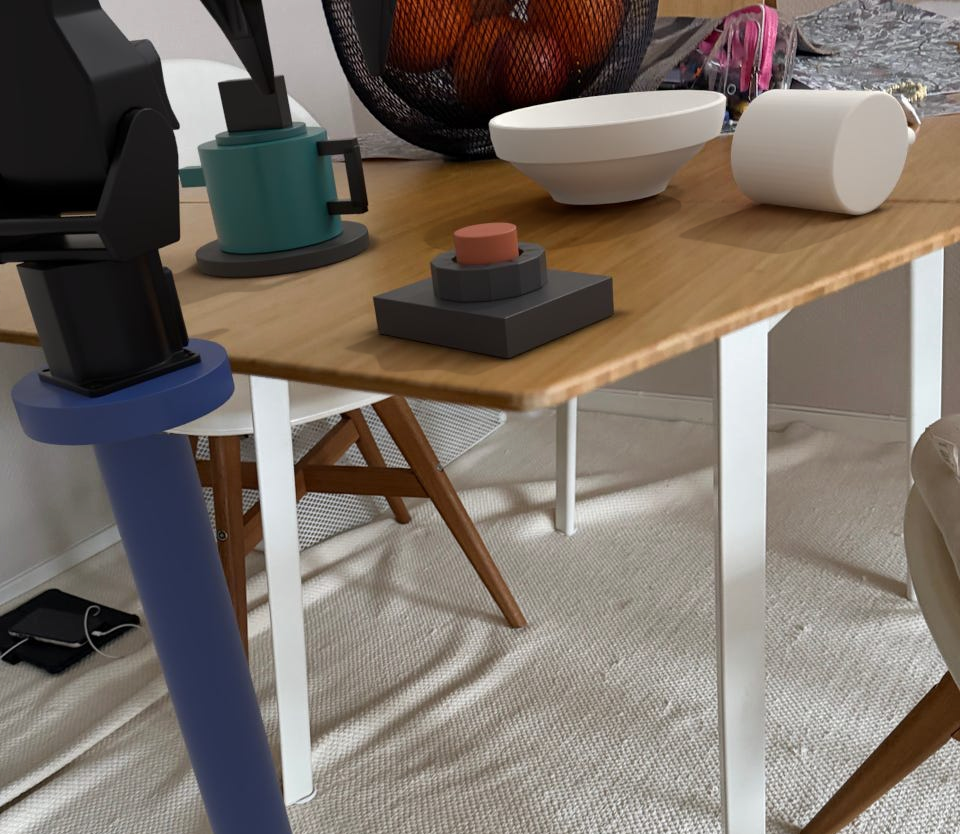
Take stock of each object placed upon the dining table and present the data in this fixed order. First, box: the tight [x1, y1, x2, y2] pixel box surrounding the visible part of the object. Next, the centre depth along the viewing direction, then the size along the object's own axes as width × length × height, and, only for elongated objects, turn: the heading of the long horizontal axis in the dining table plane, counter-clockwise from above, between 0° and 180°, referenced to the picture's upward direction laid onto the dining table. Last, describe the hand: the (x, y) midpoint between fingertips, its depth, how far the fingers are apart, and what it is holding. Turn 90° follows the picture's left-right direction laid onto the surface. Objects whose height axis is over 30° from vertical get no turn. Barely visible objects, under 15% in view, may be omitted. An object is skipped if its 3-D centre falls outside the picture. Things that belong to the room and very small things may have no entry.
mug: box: [730, 88, 916, 216], centre depth 81 cm, size 12×10×8 cm
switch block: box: [372, 241, 615, 360], centre depth 64 cm, size 11×9×4 cm
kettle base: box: [195, 220, 371, 278], centre depth 89 cm, size 14×14×1 cm
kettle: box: [179, 74, 369, 254], centre depth 85 cm, size 16×10×12 cm, turn 69°
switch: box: [453, 222, 519, 265], centre depth 63 cm, size 4×4×2 cm
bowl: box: [488, 89, 727, 206], centre depth 92 cm, size 20×20×7 cm
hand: (325, 85), depth 72 cm, fingers open, 9 cm apart
